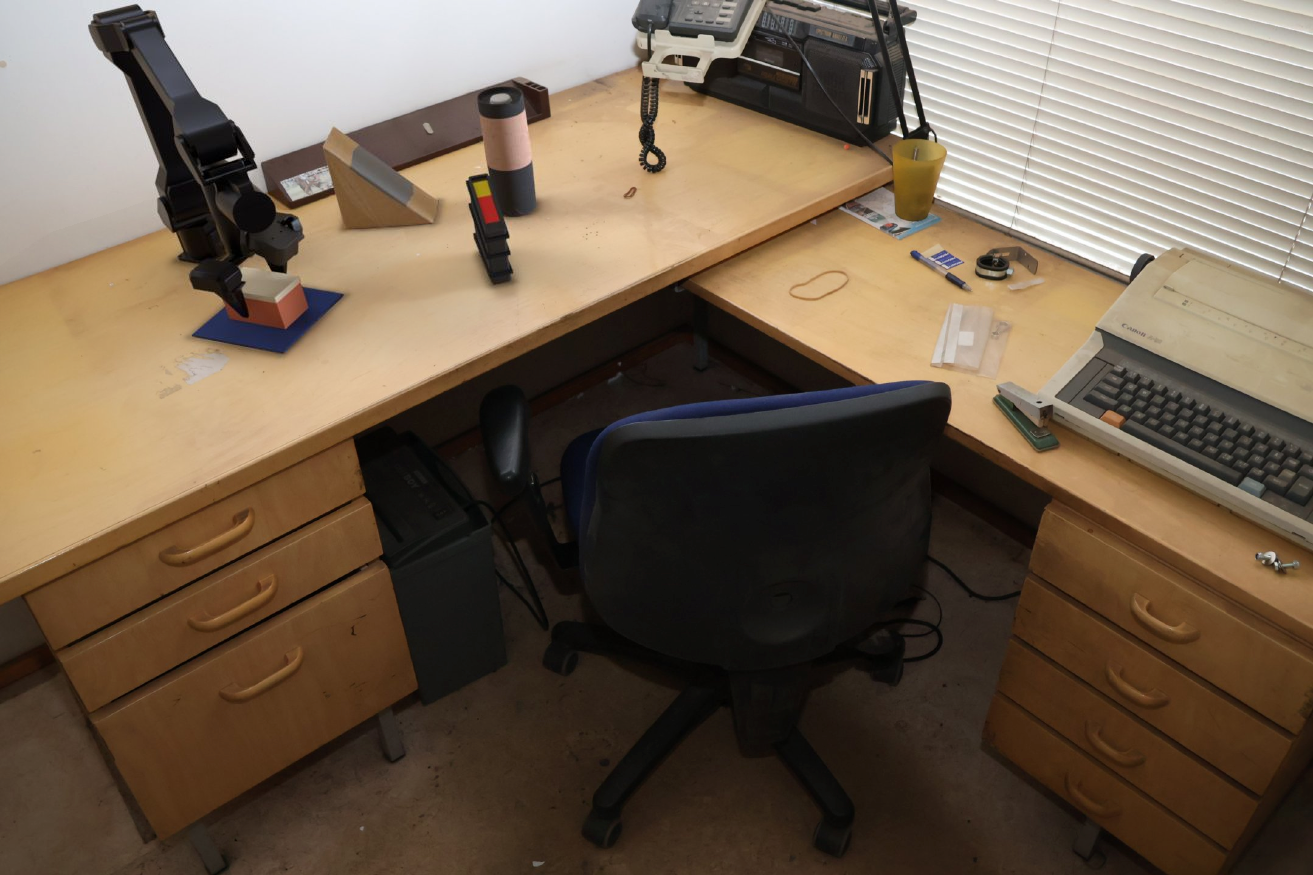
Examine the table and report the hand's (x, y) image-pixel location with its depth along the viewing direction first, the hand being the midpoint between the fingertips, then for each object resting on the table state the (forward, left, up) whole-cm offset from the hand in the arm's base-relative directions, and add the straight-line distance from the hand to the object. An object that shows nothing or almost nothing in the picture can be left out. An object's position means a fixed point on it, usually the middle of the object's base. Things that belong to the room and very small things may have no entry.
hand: (264, 300), depth 151 cm
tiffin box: (0, 0, -2) cm, 2 cm away
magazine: (+28, +21, -3) cm, 35 cm away
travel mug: (+22, +41, -3) cm, 47 cm away
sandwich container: (+2, +33, -3) cm, 33 cm away
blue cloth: (0, 0, -3) cm, 3 cm away
